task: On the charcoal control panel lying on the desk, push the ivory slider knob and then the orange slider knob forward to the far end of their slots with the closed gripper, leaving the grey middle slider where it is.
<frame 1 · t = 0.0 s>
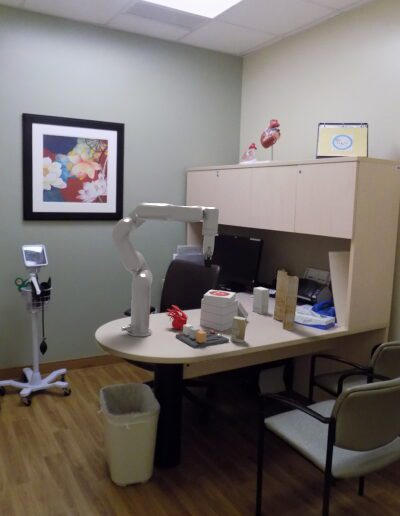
hand: (207, 265, 239), 37 cm above the table, tool pointing down, fingers open, 9 cm apart
ivory slider: (187, 329, 242), point 4 cm above the table, slide at 0.0 cm
skincare box: (259, 312, 300), on the table
pizza boxes: (223, 323, 272), on the table
skincare box 2: (237, 341, 242), on the table
grey slider: (194, 333, 237), point 4 cm above the table, slide at 0.0 cm
orange slider: (201, 336, 232), point 4 cm above the table, slide at 0.0 cm
heart organ: (177, 329, 255), on the table
parchment: (283, 324, 277), on the table
panel: (202, 339, 240), on the table
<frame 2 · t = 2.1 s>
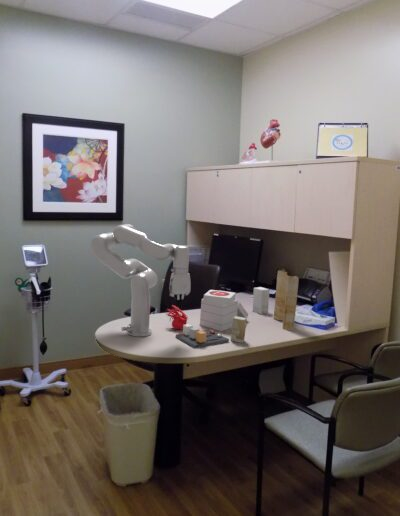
hand: (178, 306, 236), 17 cm above the table, tool pointing down, fingers closed
nothing on the table moved.
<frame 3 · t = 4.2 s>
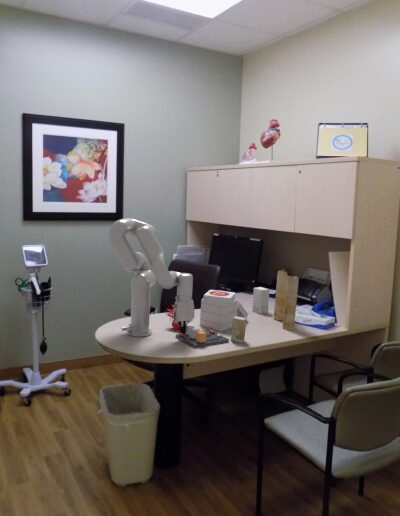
hand: (182, 333, 240), 3 cm above the table, tool pointing down, fingers closed
ivory slider: (189, 329, 242), point 4 cm above the table, slide at 1.0 cm, touching gripper
everything else where it was.
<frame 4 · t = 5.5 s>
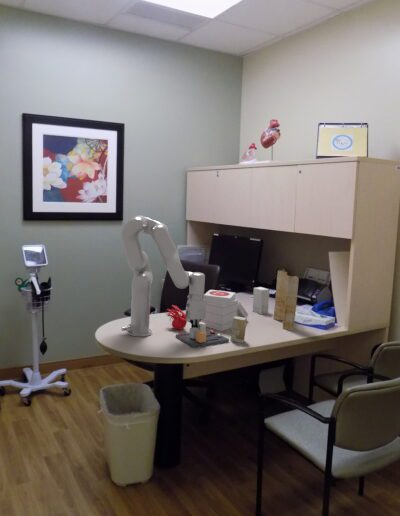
hand: (194, 331, 244), 3 cm above the table, tool pointing down, fingers closed
ivory slider: (201, 327, 247), point 4 cm above the table, slide at 8.3 cm, touching gripper
everything else where it was.
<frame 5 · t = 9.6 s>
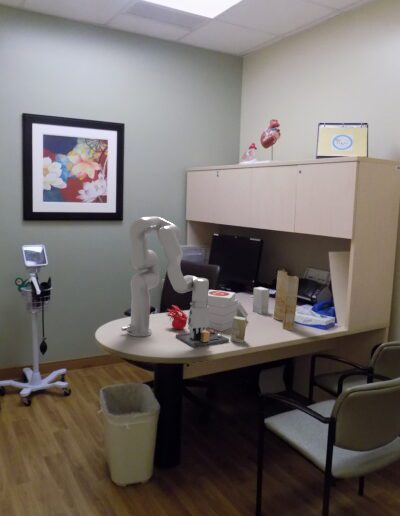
hand: (197, 340, 231), 3 cm above the table, tool pointing down, fingers closed
ivory slider: (201, 327, 247), point 4 cm above the table, slide at 8.3 cm
orange slider: (204, 336, 233), point 4 cm above the table, slide at 2.0 cm, touching gripper
everything else where it was.
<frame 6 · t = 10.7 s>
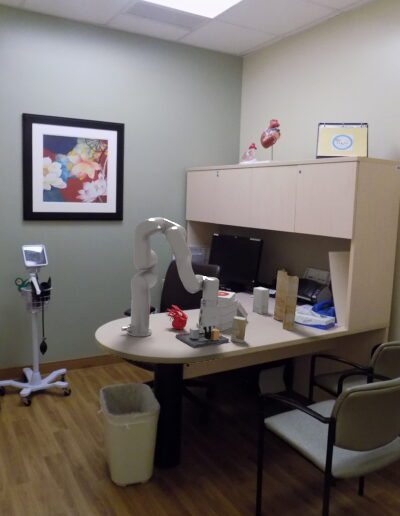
hand: (207, 338, 235), 3 cm above the table, tool pointing down, fingers closed
orange slider: (214, 334, 237), point 4 cm above the table, slide at 8.2 cm, touching gripper
everything else where it was.
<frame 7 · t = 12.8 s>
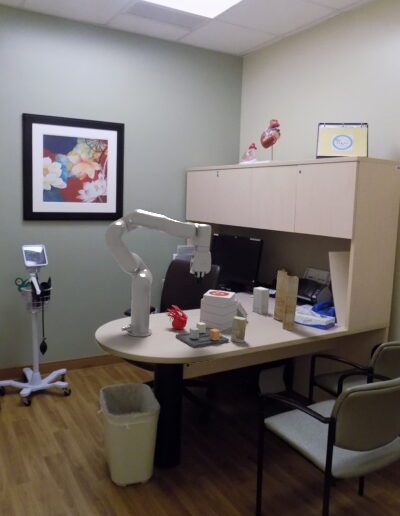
hand: (198, 284, 241), 27 cm above the table, tool pointing down, fingers closed
orange slider: (214, 334, 237), point 4 cm above the table, slide at 8.3 cm
everything else where it was.
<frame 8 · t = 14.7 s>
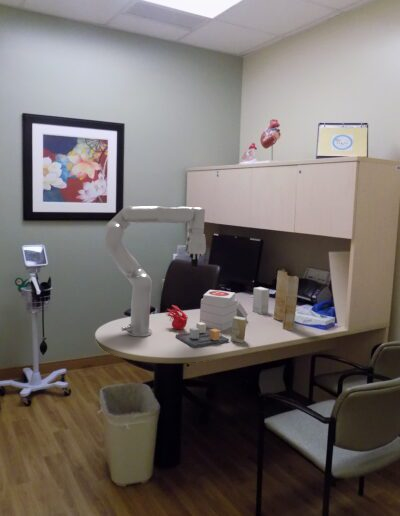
hand: (194, 266, 247), 35 cm above the table, tool pointing down, fingers closed
nothing on the table moved.
at the end: ivory slider slide at 8.3 cm; orange slider slide at 8.3 cm; grey slider slide at 0.0 cm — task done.
